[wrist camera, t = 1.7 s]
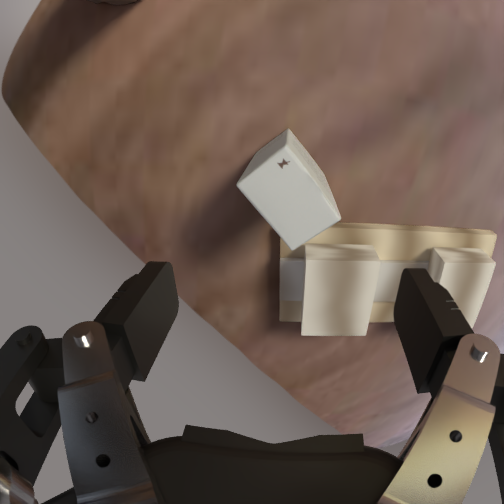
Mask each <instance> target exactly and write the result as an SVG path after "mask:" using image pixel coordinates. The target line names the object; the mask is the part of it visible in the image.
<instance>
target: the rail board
mask: <svg viewBox="0 0 504 504" xmlns="http://www.w3.org/2000/svg"><path fill="white" fill-rule="evenodd" d="M496 238H497V235H496V234H495V233H494V232H493V231H491V230H480V229H465V228H449V227H432V226H413V225H392V224H368V223H339V222H337V223H335V224H334V225H332V226H331V227H329V228H328V229H326V230H324V231H323V232H321V233H320V234H318V235H317V236H315V237H313V238H312V239H310V240H309V241H307V242H306V243H304V244H302V245H301V246H299V247H298V248H296V249H295V250H293V251H292V250H291V249H290V248H289V247H288V246H287V244H286V243H285V242H284V241H283V240H282V238H281V237H280V315H279V321H286V322H301V335H308V336H366V332H367V328H368V324H369V322H394V315H393V313H394V305H395V301H396V296H397V292H398V288H399V284H400V279H401V275H402V272H403V270H404V269H405V268H425V269H426V270H427V272H428V273H429V275H430V276H431V278H432V279H433V281H434V282H438V283H439V284H440V285H442V286H443V287H444V288H445V289H447V290H448V291H449V293H450V294H451V296H452V298H453V299H454V302H456V304H457V305H458V307H459V310H461V312H462V314H463V315H464V317H465V318H466V320H467V322H468V323H469V325H470V327H471V329H472V328H473V325H474V323H475V321H476V318H477V316H478V313H479V311H480V308H481V306H482V303H483V300H484V298H485V295H486V292H487V289H488V286H489V283H490V280H491V277H492V274H493V271H494V268H495V265H496V263H495V262H494V261H493V260H492V259H491V257H492V253H493V249H494V246H495V242H496Z"/></svg>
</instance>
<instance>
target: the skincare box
mask: <svg viewBox="0 0 504 504" xmlns="http://www.w3.org/2000/svg"><path fill="white" fill-rule="evenodd" d="M237 187H238V188H239V189H240V191H241V192H242V193H243V194H244V195H245V197H246V198H247V199H248V200H249V201H250V202H251V204H252V205H253V206H254V207H255V208H256V210H257V211H258V212H259V213H260V214H261V215H262V216H263V218H264V219H265V220H266V221H267V222H268V223H269V224H270V225H271V227H272V228H273V229H274V230H275V231H276V232H277V234H278V235H279V236H280V237H281V238H282V240H283V241H284V242H285V243H286V244H287V246H288V247H289V248H290V249H291V250H292V251H293V250H295V249H296V248H298V247H299V246H301V245H302V244H304V243H306V242H307V241H309V240H310V239H312V238H313V237H315V236H317V235H318V234H320V233H321V232H323V231H324V230H326V229H328V228H329V227H331V226H332V225H334V224H335V223H337V222H338V221H340V220H341V216H340V213H339V211H338V208H337V205H336V203H335V200H334V197H333V195H332V192H331V190H330V188H329V185H328V183H327V180H326V178H325V175H324V173H323V172H322V171H321V169H320V168H319V166H318V165H317V164H316V162H315V161H314V160H313V158H312V157H311V156H310V155H309V153H308V152H307V151H306V149H305V148H304V147H303V146H302V144H301V143H300V142H299V141H298V139H297V138H296V137H295V136H294V134H293V133H292V132H291V131H290V129H286V130H285V131H284V132H282V133H281V134H280V135H278V136H277V137H276V138H274V139H273V140H272V141H270V142H269V143H268V144H266V145H265V146H264V147H263V148H261V149H260V150H259V151H258V152H256V154H255V155H254V157H253V158H252V160H251V161H250V163H249V165H248V166H247V168H246V169H245V171H244V173H243V174H242V176H241V178H240V179H239V181H238V182H237Z"/></svg>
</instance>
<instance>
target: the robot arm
mask: <svg viewBox="0 0 504 504" xmlns="http://www.w3.org/2000/svg"><path fill="white" fill-rule="evenodd" d="M88 1H91V2H94V3H96V4H97V3H100V2H107V3H109V4H112V5H125V4H129V3H133V2H135V1H137V0H88ZM178 307H179V301H178V295H177V290H176V284H175V279H174V273H173V268H172V265H171V263H170V262H154V261H150V262H148V263H147V264H146V265H145V267H144V268H143V269H142V270H141V272H140V273H139V274H135V275H134V276H132V277H131V278H129V279H128V280H126V281H125V282H124V283H123V284H122V285H121V287H120V288H119V289H118V292H116V293H115V294H114V295H113V296H112V299H110V300H109V302H108V303H107V304H106V305H105V307H104V308H103V309H102V310H101V312H100V313H99V314H98V315H97V317H96V318H95V319H94V321H86V322H81V323H78V324H76V325H74V326H72V327H71V328H70V329H68V330H67V331H66V333H65V334H64V336H63V338H54V339H45V337H44V335H43V333H42V330H41V329H40V328H39V327H37V326H26V327H23V328H21V329H19V330H17V331H16V332H14V333H13V334H12V335H11V336H10V338H9V339H8V340H7V341H6V342H5V344H4V345H3V346H2V348H1V349H0V504H38V501H37V500H36V499H35V498H34V489H33V486H34V483H35V481H36V479H37V476H38V474H39V472H40V469H41V467H42V465H43V463H44V461H45V458H46V456H47V454H48V452H49V450H50V447H51V445H52V443H53V441H54V439H55V437H56V435H57V433H58V431H59V429H60V427H61V425H62V431H63V438H64V443H65V448H66V454H67V459H68V464H69V469H70V473H71V477H72V481H73V485H74V487H73V488H71V489H69V490H67V491H65V492H64V493H61V494H60V495H57V496H55V497H54V498H52V499H50V500H48V501H46V502H44V503H41V504H462V502H463V500H464V498H465V495H466V493H467V491H468V489H469V486H470V484H471V482H472V479H473V477H474V474H475V472H476V469H477V466H478V464H479V461H480V459H481V456H482V453H483V450H484V447H485V444H486V441H487V438H488V439H489V443H490V446H491V450H492V454H493V458H494V463H495V467H496V472H497V476H498V481H499V487H500V493H501V498H502V504H504V354H500V351H499V348H498V347H497V345H496V344H495V343H494V342H493V341H492V340H491V339H489V338H488V337H486V336H483V335H480V334H474V332H473V330H472V329H471V327H470V325H469V323H468V322H467V320H466V318H465V317H464V315H463V314H462V312H461V310H459V307H458V305H457V304H456V302H454V299H453V298H452V296H451V294H450V293H449V291H448V290H447V289H445V288H444V287H443V286H442V285H440V284H439V283H438V282H434V281H433V279H432V278H431V276H430V275H429V273H428V272H427V270H426V269H425V268H405V269H404V270H403V272H402V275H401V279H400V284H399V288H398V292H397V296H396V301H395V305H394V313H393V315H394V323H395V326H396V329H397V331H398V334H399V337H400V340H401V343H402V346H403V349H404V352H405V355H406V358H407V361H408V364H409V367H410V370H411V374H412V377H413V380H414V383H415V387H416V390H417V394H419V393H427V392H430V393H431V396H432V398H431V399H430V401H429V403H428V405H427V407H426V409H425V411H424V413H423V414H422V416H421V418H420V420H419V422H418V424H417V426H416V427H415V429H414V431H413V433H412V434H411V436H410V438H409V440H408V441H407V443H406V445H405V446H404V448H403V450H402V451H401V452H400V454H399V456H398V457H396V456H394V455H392V454H390V453H388V452H385V451H383V450H380V449H377V448H373V447H370V446H364V442H363V434H346V435H318V436H314V437H309V438H304V439H300V440H294V441H288V442H283V443H276V444H271V443H266V442H263V441H259V440H256V439H253V438H250V437H246V436H243V435H240V434H237V433H234V432H231V431H228V430H220V429H219V430H218V429H212V428H204V427H197V426H191V425H186V426H185V429H184V432H183V435H182V436H176V437H170V438H165V439H161V440H157V441H155V442H152V443H151V441H150V439H149V437H148V435H147V433H146V430H145V428H144V425H143V423H142V420H141V418H140V415H139V412H138V410H137V407H136V404H135V402H134V399H133V396H132V393H131V391H130V388H129V384H130V382H131V380H137V381H144V382H145V380H146V378H147V375H148V374H149V371H150V369H151V367H152V365H153V363H154V361H155V359H156V357H157V355H158V353H159V351H160V348H161V347H162V344H163V343H164V340H165V338H166V336H167V334H168V332H169V330H170V328H171V326H172V324H173V322H174V320H175V318H176V316H177V313H178ZM27 382H29V384H30V385H31V387H32V388H33V390H34V393H33V395H32V396H31V398H30V400H29V401H28V403H27V405H26V406H25V408H24V410H23V411H22V413H21V415H20V417H19V416H18V414H17V412H16V408H15V404H16V400H17V398H18V396H19V395H20V393H21V392H22V390H23V389H24V387H25V385H26V384H27Z"/></svg>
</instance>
